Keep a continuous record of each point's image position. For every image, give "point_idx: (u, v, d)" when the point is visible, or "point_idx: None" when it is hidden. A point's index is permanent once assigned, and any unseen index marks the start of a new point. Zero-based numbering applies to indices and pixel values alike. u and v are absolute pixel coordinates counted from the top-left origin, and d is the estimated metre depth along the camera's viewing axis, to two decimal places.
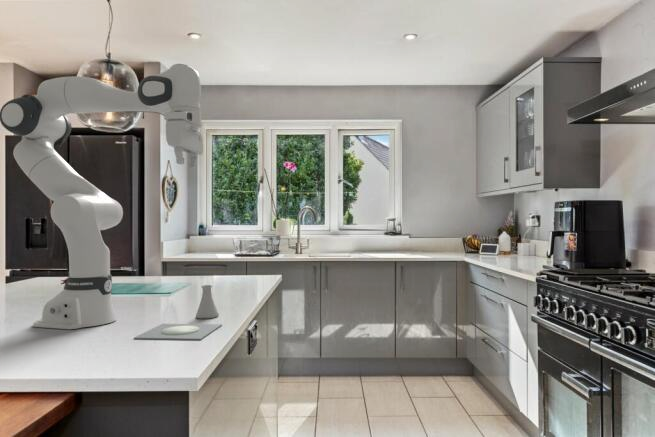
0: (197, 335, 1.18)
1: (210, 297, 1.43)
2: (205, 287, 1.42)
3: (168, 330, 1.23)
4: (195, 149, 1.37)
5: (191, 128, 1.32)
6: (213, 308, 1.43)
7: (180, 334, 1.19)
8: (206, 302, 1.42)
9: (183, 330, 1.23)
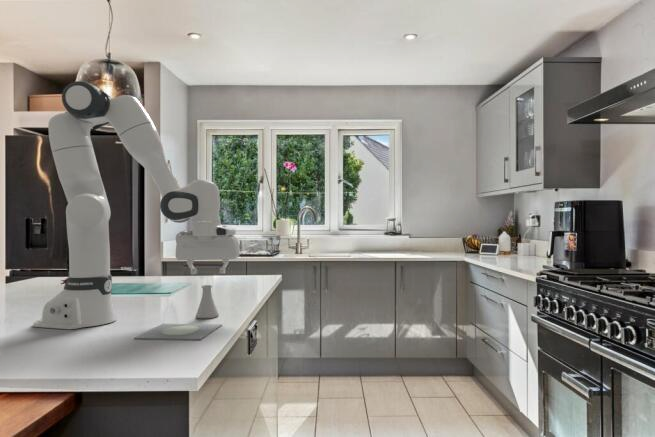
0: (197, 335, 1.18)
1: (210, 297, 1.43)
2: (205, 287, 1.42)
3: (168, 330, 1.23)
4: None
5: None
6: (213, 308, 1.43)
7: (180, 334, 1.19)
8: (206, 302, 1.42)
9: (183, 330, 1.23)
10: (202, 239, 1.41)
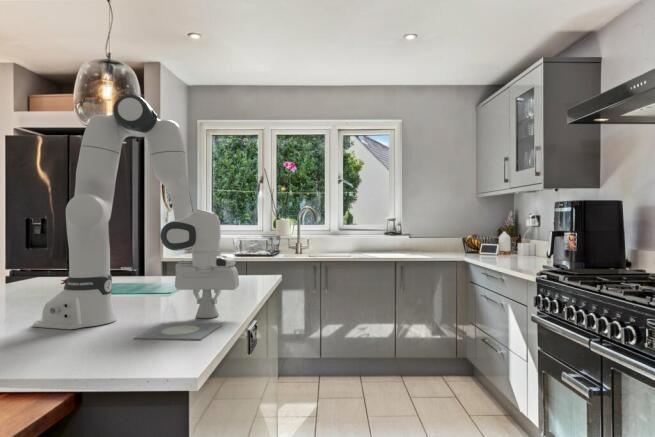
0: (197, 335, 1.18)
1: (210, 297, 1.43)
2: None
3: (168, 330, 1.23)
4: None
5: None
6: (213, 308, 1.43)
7: (180, 334, 1.19)
8: (206, 302, 1.42)
9: (183, 330, 1.23)
10: (202, 269, 1.41)
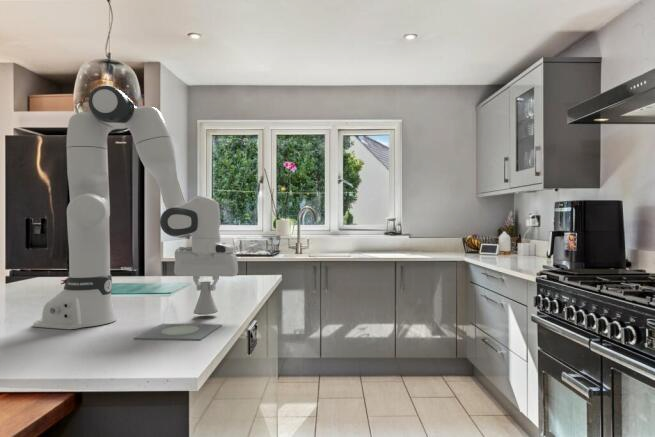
0: (197, 335, 1.18)
1: (208, 293, 1.42)
2: (203, 283, 1.42)
3: (168, 330, 1.23)
4: None
5: None
6: (210, 305, 1.42)
7: (180, 334, 1.19)
8: (204, 299, 1.42)
9: (183, 330, 1.23)
10: (201, 256, 1.41)
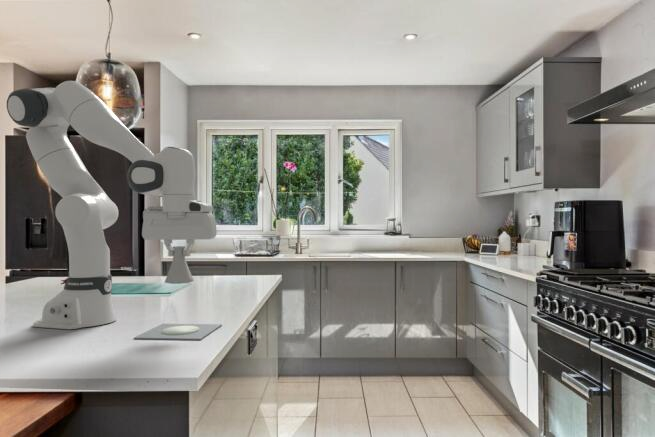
0: (197, 335, 1.18)
1: (182, 260, 1.23)
2: (176, 248, 1.22)
3: (168, 330, 1.23)
4: None
5: None
6: (184, 272, 1.22)
7: (180, 334, 1.19)
8: (177, 265, 1.22)
9: (183, 330, 1.23)
10: (173, 215, 1.21)
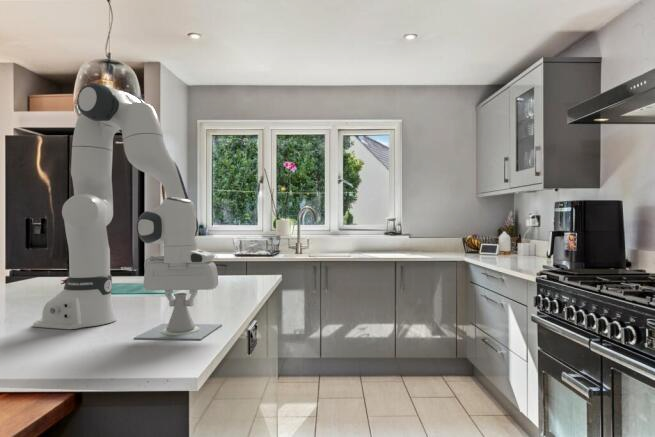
0: (197, 335, 1.18)
1: (183, 307, 1.23)
2: (177, 295, 1.22)
3: None
4: None
5: None
6: (186, 320, 1.22)
7: (180, 334, 1.19)
8: (178, 313, 1.22)
9: None
10: (174, 266, 1.21)
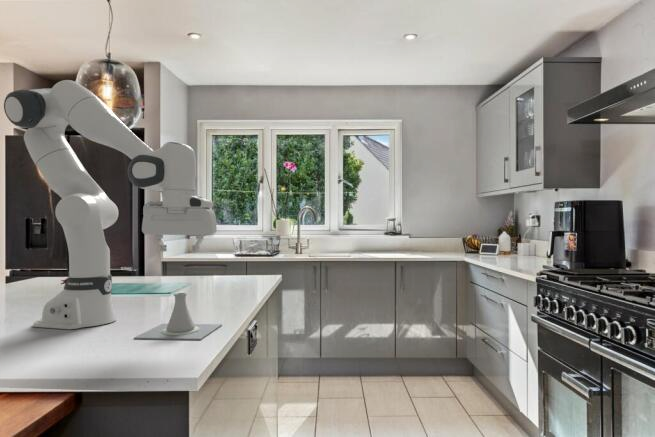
0: (197, 335, 1.18)
1: (183, 307, 1.23)
2: (177, 295, 1.22)
3: None
4: None
5: None
6: (186, 320, 1.22)
7: (180, 334, 1.19)
8: (178, 313, 1.22)
9: None
10: (173, 210, 1.21)
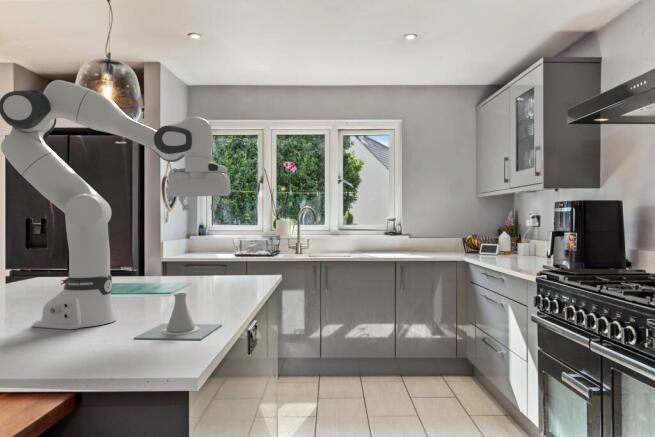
0: (197, 335, 1.18)
1: (183, 307, 1.23)
2: (177, 295, 1.22)
3: None
4: None
5: None
6: (186, 320, 1.22)
7: (180, 334, 1.19)
8: (178, 313, 1.22)
9: None
10: (194, 175, 1.43)
